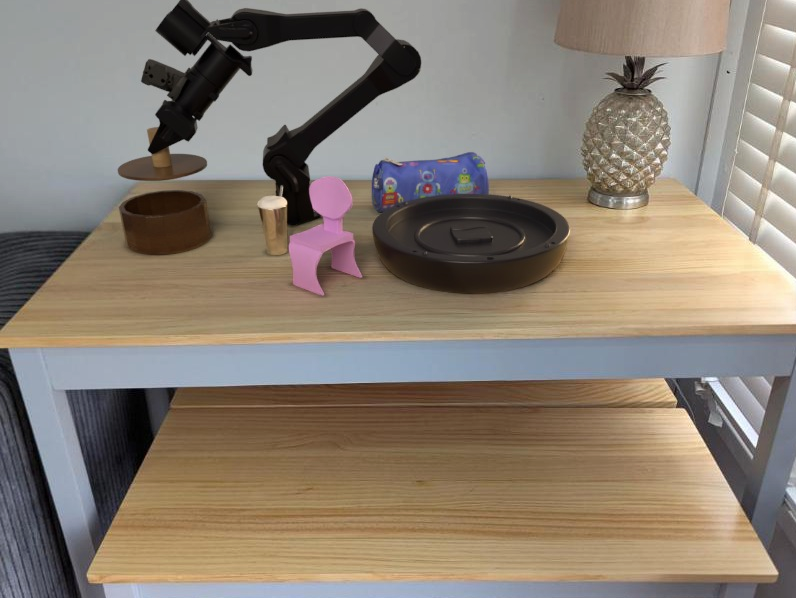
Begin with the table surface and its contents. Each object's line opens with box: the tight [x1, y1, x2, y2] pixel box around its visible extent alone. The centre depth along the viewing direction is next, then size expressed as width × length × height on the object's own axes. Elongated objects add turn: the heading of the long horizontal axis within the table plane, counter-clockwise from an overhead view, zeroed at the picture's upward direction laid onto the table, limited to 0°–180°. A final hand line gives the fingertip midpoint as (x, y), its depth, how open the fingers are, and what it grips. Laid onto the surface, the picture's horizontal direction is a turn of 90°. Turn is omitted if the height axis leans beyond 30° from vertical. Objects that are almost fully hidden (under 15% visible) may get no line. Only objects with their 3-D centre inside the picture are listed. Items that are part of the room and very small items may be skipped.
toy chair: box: [288, 175, 364, 297], centre depth 110 cm, size 8×9×15 cm
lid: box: [117, 126, 208, 182], centre depth 129 cm, size 15×15×7 cm
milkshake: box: [257, 185, 288, 256], centre depth 123 cm, size 5×5×10 cm
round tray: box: [371, 193, 571, 294], centre depth 120 cm, size 30×6×30 cm
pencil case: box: [371, 151, 490, 213], centre depth 140 cm, size 22×9×10 cm, turn 104°
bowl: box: [118, 189, 212, 256], centre depth 129 cm, size 14×14×6 cm
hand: (151, 149), depth 129 cm, fingers closed on lid, 3 cm apart
